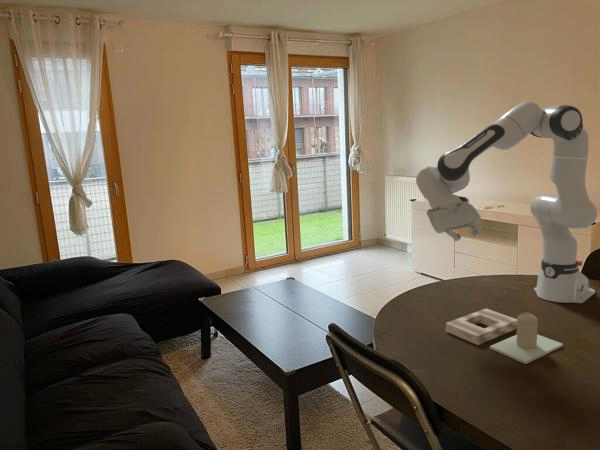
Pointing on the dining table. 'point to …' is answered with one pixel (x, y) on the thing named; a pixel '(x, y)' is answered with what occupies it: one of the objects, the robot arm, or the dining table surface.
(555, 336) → the dining table surface
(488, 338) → the socket block
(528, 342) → the candle
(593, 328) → the dining table surface
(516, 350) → the sage mat
